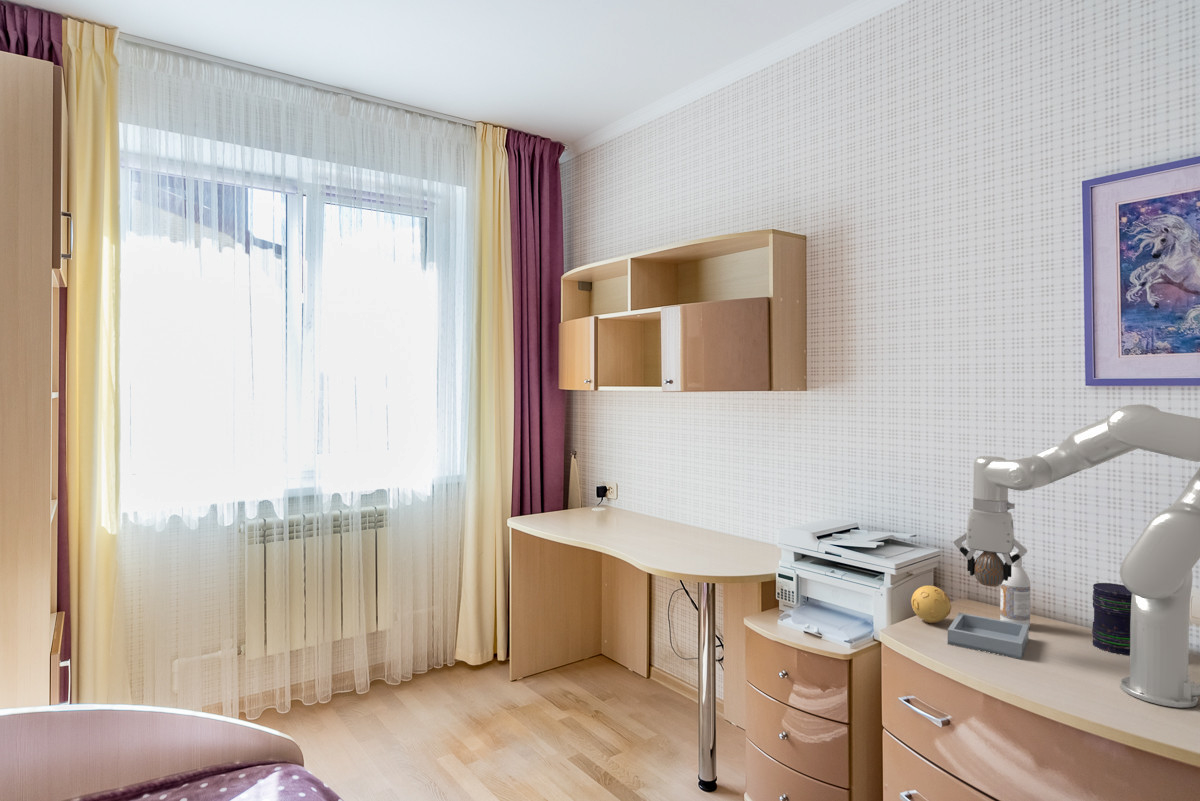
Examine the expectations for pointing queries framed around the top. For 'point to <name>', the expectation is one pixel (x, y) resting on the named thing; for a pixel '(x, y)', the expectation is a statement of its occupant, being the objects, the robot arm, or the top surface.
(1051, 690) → the top surface
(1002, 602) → the bath foam
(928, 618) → the stress ball
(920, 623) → the top surface
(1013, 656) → the bin
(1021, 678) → the top surface
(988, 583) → the vase
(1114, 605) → the storage jar
